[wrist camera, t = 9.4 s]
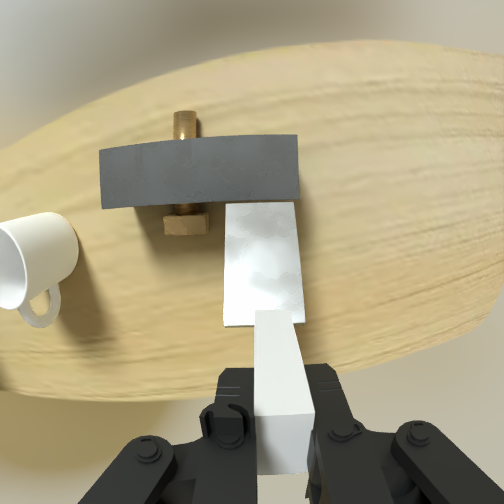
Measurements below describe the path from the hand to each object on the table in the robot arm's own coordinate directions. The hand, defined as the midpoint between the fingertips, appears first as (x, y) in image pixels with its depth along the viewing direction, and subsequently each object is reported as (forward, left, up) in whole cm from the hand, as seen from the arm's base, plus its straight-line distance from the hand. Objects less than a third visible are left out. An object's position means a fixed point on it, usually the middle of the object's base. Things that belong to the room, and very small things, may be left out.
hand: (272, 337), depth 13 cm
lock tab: (0, +1, -8) cm, 8 cm away
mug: (-24, -1, -19) cm, 30 cm away
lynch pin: (-7, +8, -18) cm, 21 cm away
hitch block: (-5, +8, -18) cm, 21 cm away
